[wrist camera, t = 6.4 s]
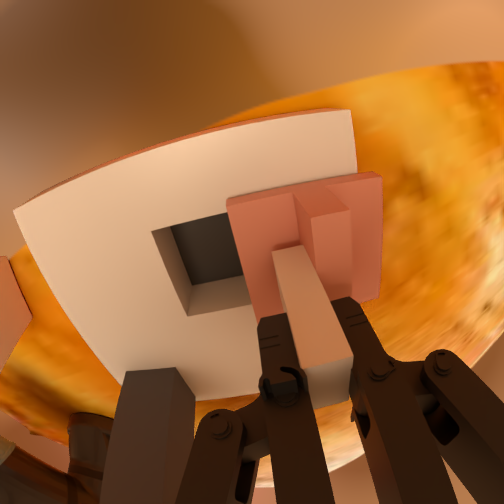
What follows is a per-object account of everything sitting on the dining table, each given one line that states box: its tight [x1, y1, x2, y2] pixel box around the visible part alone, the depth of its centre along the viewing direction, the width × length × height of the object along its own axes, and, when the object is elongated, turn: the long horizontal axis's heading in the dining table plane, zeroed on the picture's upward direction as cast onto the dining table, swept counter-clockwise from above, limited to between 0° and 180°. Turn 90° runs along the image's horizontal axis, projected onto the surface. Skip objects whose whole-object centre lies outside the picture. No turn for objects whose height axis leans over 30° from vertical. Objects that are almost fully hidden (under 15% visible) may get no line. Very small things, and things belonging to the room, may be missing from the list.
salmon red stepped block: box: [226, 171, 383, 324], centre depth 13 cm, size 8×8×4 cm
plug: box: [99, 367, 196, 504], centre depth 15 cm, size 4×4×13 cm
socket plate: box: [13, 108, 360, 401], centre depth 18 cm, size 20×20×4 cm
